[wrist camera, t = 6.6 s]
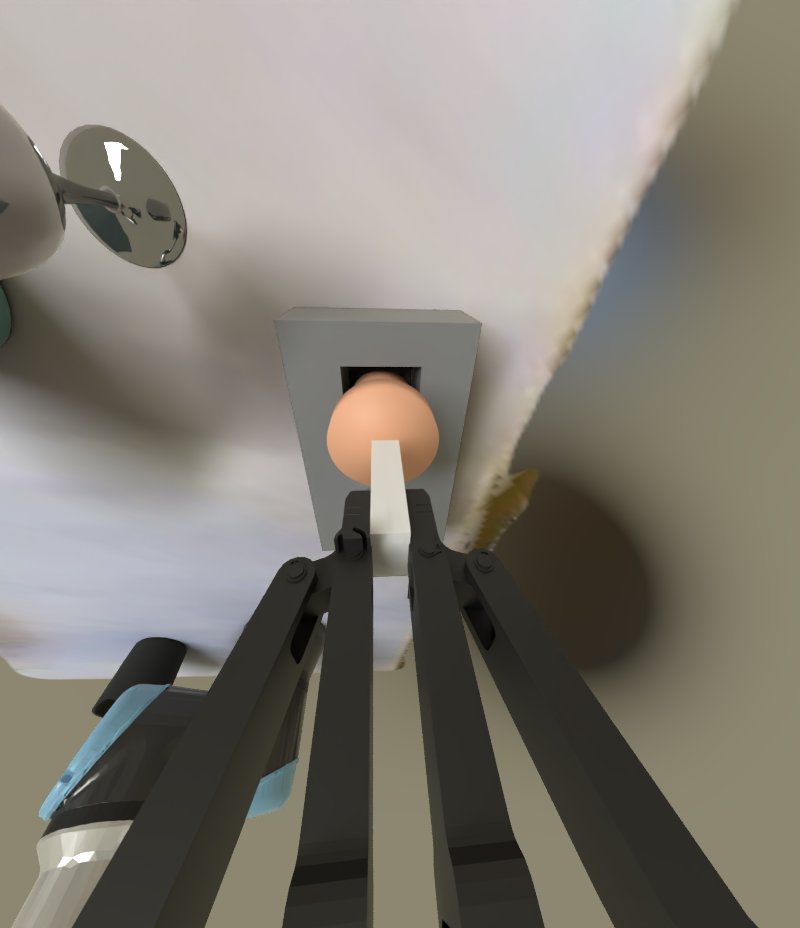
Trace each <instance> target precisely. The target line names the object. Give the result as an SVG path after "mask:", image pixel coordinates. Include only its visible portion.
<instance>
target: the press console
mask: <svg viewBox="0 0 800 928" xmlns="http://www.w3.org/2000/svg"><path fill="white" fill-rule="evenodd" d="M274 322H275V327H276V332H277V337H278V341H279V346H280V351H281V356H282V360H283V365H284V370H285V375H286V379H287V384H288V389H289V394H290V399H291V403H292V408H293V413H294V418H295V422H296V427H297V432H298V437H299V441H300V446H301V451H302V456H303V461H304V465H305V470H306V475H307V480H308V484H309V489H310V494H311V499H312V503H313V508H314V513H315V518H316V523H317V527H318V532H319V537H320V542H321V546H322V551H331V550H335V545H334V537H335V535H336V533H337V532H338V531H339V530H340V529H342V522H343V516H344V506H345V499H346V497H347V496H348V494H349V493H350V492H351V491H363V490H368V489H371V486H369V485H365V484H362V483H359V482H357V481H354V480H352V479H351V478H349V477H348V476H346V475H345V474H344V473H342V472H341V471H340V470H339V469H338V468H337V466H336V465H335V464H334V462H333V460H332V459H331V456H330V454H329V451H328V447H327V432H328V428H329V424H330V420H331V417H332V413H333V410H334V408H335V405H336V404H337V402H338V400H339V399H340V398H341V397H342V395H343V394H344V393H346V392H347V391H348V390H349V389H350V383H349V370H348V366H352V367H412V374H411V387H413V388H414V389H416V390H417V391H418V392H419V393H420V394H421V395H422V396H423V397H424V398H425V399H426V401H427V402H428V404H429V406H430V408H431V411H432V413H433V416H434V419H435V421H436V424H437V428H438V432H439V445H438V450H437V453H436V455H435V457H434V459H433V461H432V462H431V464H430V465H429V467H428V468H427V469H426V470H425V471H424V472H423V473H421V474H420V475H419V476H417V477H416V478H414V479H412V480H410V481H408V482H406V483H404V484H405V489H424V490H425V491H426V492H427V493H428V495H429V496H430V500H431V506H432V509H433V513H434V518H435V522H436V526H437V531H438V535H439V538H440V540H441V542H442V543H443V540H444V534H445V529H446V523H447V517H448V512H449V506H450V500H451V495H452V489H453V484H454V478H455V472H456V467H457V461H458V455H459V450H460V444H461V439H462V433H463V427H464V422H465V416H466V410H467V405H468V399H469V394H470V388H471V382H472V377H473V371H474V365H475V360H476V354H477V349H478V343H479V337H480V332H481V326H482V323H480V322H479V321H477V320H476V319H474V318H472V317H471V316H469V315H467V314H466V313H464V312H462V311H461V310H414V309H363V308H313V307H294V308H292V309H291V310H289V311H288V312H286V313H284V314H283V315H281V316H280V317H278V318H276V319H275V320H274Z"/></svg>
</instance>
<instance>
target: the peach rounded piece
mask: <svg viewBox="0 0 800 928" xmlns="http://www.w3.org/2000/svg"><path fill="white" fill-rule="evenodd" d="M372 440H399V446H400V454H401V461H402V469H403V476H404V483H406V482H408V481H410V480H412V479H414V478H416V477H417V476H419V475H420V474H421V473H423V472H424V471H425V470H426V469H427V468H428V467H429V465H430V464H431V462H432V461H433V459H434V457H435V455H436V453H437V450H438V445H439V432H438V428H437V424H436V421H435V419H434V416H433V413H432V411H431V408H430V406H429V404H428V402H427V401H426V399H425V398H424V397H423V396H422V395H421V394H420V393H419V392H418V391H417V390H416V389H414V388H413V387H411V386H410V385H408V384H407V382H406V381H405V380H404V378H402V377H401V376H400V375H399V374H397V373H395V372H393V371H390V370H386V369H377V370H372V371H369V372H367V373H365V374H364V375H362V376H361V377H360V378H359V379H358V380H357V381H356V383H355V384H354V386H353V387H352V388H351V389H349V390H348V391H347V392H346V393H344V394H343V395H342V397H341V398H340V399H339V400H338V402H337V404H336V405H335V408H334V410H333V413H332V417H331V420H330V424H329V428H328V432H327V447H328V451H329V454H330V456H331V459H332V460H333V462H334V464H335V465H336V466H337V468H338V469H339V470H340V471H341V472H342V473H344V474H345V475H346V476H348V477H349V478H351V479H352V480H354V481H357V482H359V483H362V484H365V485H369V486H371V449H372Z"/></svg>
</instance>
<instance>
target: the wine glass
mask: <svg viewBox="0 0 800 928" xmlns="http://www.w3.org/2000/svg"><path fill="white" fill-rule="evenodd" d="M59 166H60V175H61V176H59V175H56V174H54V173H52V171H51V169H50V167H49V166H48V164H47V162H46V161H45V159H44V157H43V156H42V154H41V153H40V151H39V150H38V148H37V147H36V145H35V144H34V143H33V141H32V140H31V139H30V138H29V136H28V135H27V134H26V132H25V131H24V130H23V129H22V127H21V126H20V125H19V124H18V122H17V121H16V120H15V118H14V117H13V116H12V115H11V114H10V113H9V112H8V111H7V110H6V109H5V108H4V107H3V106H2V104H1V103H0V280H3V279H7V278H11V277H15V276H19V275H21V274H23V273H26V272H28V271H31V270H33V269H35V268H37V267H39V266H41V265H42V264H44V263H46V262H47V261H48V260H49V259H51V258H52V257H53V256H54V255H55V254H56V253H57V252H58V250H59V249H60V247H61V244H62V242H63V240H64V234H65V227H66V212H65V206H64V205H65V204H71V205H72V207H73V209H74V211H75V212H76V214H77V215H78V217H79V218H80V220H81V221H82V223H83V224H84V225H85V226H86V228H87V229H88V230H89V231H90V233H91V234H92V235H93V236H94V237H95V238H96V239H97V240H98V241H99V242H100V243H101V244H103V245H104V246H105V247H106V248H107V249H109V250H110V251H111V252H113V253H114V254H116V255H117V256H119V257H121V258H123V259H124V260H126V261H128V262H130V263H133V264H136V265H139V266H144V267H162V266H166V265H168V264H170V263H172V262H173V261H174V260H175V259H176V258H177V257H178V256H179V255H180V253H181V251H182V250H183V247H184V243H185V238H186V221H185V216H184V211H183V208H182V205H181V202H180V199H179V196H178V194H177V192H176V190H175V188H174V186H173V184H172V183H171V181H170V179H169V178H168V176H167V174H166V173H165V171H164V170H163V169H162V168H161V166H160V165H159V164H158V162H157V161H156V160H155V159H154V158H153V157H152V156H151V155H150V154H149V153H148V152H147V151H146V150H145V149H144V148H143V147H142V146H140V145H139V144H138V143H137V142H136V141H134V140H133V139H131V138H130V137H128V136H126V135H125V134H123V133H121V132H119V131H117V130H115V129H112V128H110V127H106V126H102V125H84V126H81V127H78V128H76V129H74V130H73V131H71V132H70V133H69V134H68V136H67V137H66V138H65V139H64V141H63V144H62V147H61V149H60V157H59Z"/></svg>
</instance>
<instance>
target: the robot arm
mask: <svg viewBox="0 0 800 928" xmlns="http://www.w3.org/2000/svg"><path fill="white" fill-rule="evenodd" d="M334 545H335V551H334V552H333V553H332V554H330V555H329V556H327V557H325V558H322V559H319V560H316V561H313V562H312V561H311V560H310V559H308V558H305V557H297V558H294V559H290V560H289V561H287V562H286V563H284V564H283V565H282V567H281V568H280V569H279V570H278V572H277V574H276V576H275V577H274V579H273V581H272V582H271V584H270V586H269V588H268V589H267V591H266V593H265V595H264V596H263V598H262V600H261V601H260V603H259V605H258V607H257V608H256V610H255V612H254V614H253V615H252V617H251V619H250V620H249V622H248V623H247V624H246V625H245V627H244V630H243V633H242V634H241V636H240V638H239V639H238V641H237V643H236V645H235V646H234V648H233V650H232V652H231V653H230V655H229V657H228V658H227V660H226V662H225V664H224V665H223V667H222V669H221V671H220V672H219V674H218V676H217V678H216V679H215V681H214V683H213V685H212V686H211V688H210V690H209V691H205V690H198V689H191V688H184V687H177V686H171V684H166V685H152V684H138V685H135V686H133V687H131V688H129V689H128V690H126V691H125V692H124V693H123V694H122V695H121V696H120V697H119V698H118V699H117V700H116V702H115V703H114V704H113V705H112V707H111V708H110V709H109V710H108V712H107V713H106V714H105V716H104V717H103V718H102V720H101V721H100V722H99V724H98V725H97V727H96V728H95V729H94V731H93V732H92V733H91V735H90V736H89V738H88V739H87V740H86V742H85V743H84V745H83V746H82V747H81V749H80V750H79V752H78V753H77V755H76V756H75V758H74V759H73V760H72V762H71V763H70V765H69V766H68V769H67V770H66V771H65V772H64V774H63V775H62V777H61V778H60V780H59V781H58V783H57V784H56V785H55V786H54V788H53V790H52V791H51V792H50V794H49V796H48V797H47V799H46V800H45V802H44V804H43V805H42V807H41V809H40V811H39V817H41V818H43V820H44V821H48V820H50V819H51V818H52V820H51V822H50V823H49V825H48V827H47V829H46V830H45V832H44V834H43V836H42V837H41V839H40V841H39V842H38V844H37V847H36V848H37V853H38V858H39V863H40V875H39V878H38V879H37V881H36V883H35V885H34V887H33V889H32V890H31V892H30V894H29V896H28V898H27V900H26V901H25V903H24V905H23V907H22V909H21V911H20V913H19V915H18V916H17V918H16V920H15V922H14V924H13V926H12V927H11V928H204V927H205V925H206V922H207V919H208V917H209V913H210V911H211V909H212V906H213V904H214V901H215V898H216V896H217V893H218V890H219V888H220V885H221V882H222V880H223V877H224V875H225V872H226V869H227V867H228V864H229V862H230V859H231V856H232V853H233V851H234V848H235V846H236V843H237V840H238V838H239V835H240V833H241V830H242V827H243V825H244V822H245V820H247V819H250V818H254V817H258V816H261V815H265V814H268V813H271V812H274V811H277V810H279V809H280V808H281V807H283V806H284V805H285V803H286V802H287V800H288V798H289V796H290V794H291V790H292V785H293V780H294V774H295V770H296V765H297V763H298V753H299V747H300V740H301V733H302V726H303V719H304V712H305V704H306V698H307V692H308V685H309V680H310V677H311V675H312V673H313V670H314V668H315V666H316V663H317V661H318V659H319V656H320V654H321V652H322V649H323V647H324V652H323V660H322V668H321V676H320V684H319V692H318V700H317V708H316V716H315V724H314V732H313V739H312V748H311V755H310V763H309V771H308V778H307V786H306V794H305V802H304V810H303V818H302V826H301V834H300V841H299V849H298V856H297V861H296V866H295V870H294V873H293V877H292V880H291V884H290V887H289V892H288V897H287V902H286V907H285V913H284V919H283V926H282V928H373V577H385V576H405V575H408V577H409V586H408V598H409V600H410V611H411V621H412V631H413V641H414V651H415V661H416V672H417V682H418V692H419V702H420V711H421V723H422V733H423V743H424V753H425V762H426V774H427V784H428V793H429V804H430V814H431V824H432V834H433V846H434V875H435V888H436V899H437V909H438V920H439V928H545V927H544V923H543V919H542V915H541V911H540V908H539V904H538V900H537V896H536V892H535V889H534V885H533V881H532V878H531V875H530V872H529V869H528V866H527V863H526V861H525V858H524V856H523V854H522V852H521V850H520V848H519V846H518V844H517V842H516V839H515V837H514V833H513V831H512V827H511V823H510V820H509V815H508V812H507V807H506V803H505V799H504V794H503V790H502V786H501V782H500V777H499V773H498V769H497V765H496V761H495V756H494V752H493V748H492V744H491V739H490V735H489V731H488V727H487V723H486V719H485V714H484V710H483V706H482V702H481V698H480V693H479V689H478V685H477V681H476V676H475V672H474V668H473V664H472V660H471V655H470V651H469V647H468V643H467V639H466V635H465V630H464V626H463V622H462V617H461V614H460V611H461V613H462V615H463V618H464V620H465V622H466V624H467V626H468V628H469V630H470V632H471V634H472V636H473V638H474V640H475V642H476V644H477V646H478V649H479V650H480V653H481V655H482V657H483V659H484V661H485V663H486V665H487V667H488V669H489V671H490V673H491V675H492V677H493V679H494V681H495V684H496V686H497V688H498V690H499V692H500V694H501V696H502V698H503V700H504V702H505V704H506V706H507V708H508V710H509V713H510V714H511V717H512V719H513V721H514V723H515V725H516V727H517V729H518V731H519V733H520V735H521V737H522V739H523V741H524V743H525V746H526V747H527V750H528V752H529V754H530V756H531V758H532V760H533V762H534V764H535V766H536V768H537V770H538V772H539V774H540V776H541V779H542V781H543V783H544V785H545V787H546V789H547V791H548V793H549V795H550V797H551V799H552V801H553V803H554V805H555V807H556V810H557V811H558V813H559V816H560V818H561V820H562V822H563V824H564V826H565V828H566V830H567V832H568V834H569V836H570V838H571V840H572V843H573V845H574V847H575V849H576V851H577V853H578V855H579V857H580V859H581V861H582V863H583V865H584V867H585V869H586V871H587V873H588V875H589V878H590V880H591V882H592V883H593V886H594V888H595V890H596V892H597V894H598V896H599V898H600V900H601V901H602V904H603V905H604V907H605V909H606V911H607V913H608V915H609V917H610V919H611V921H612V923H613V925H614V927H615V928H758V927H757V926H756V925H755V924H754V922H753V921H751V919H750V918H749V917H748V916H747V914H746V913H745V912H744V910H743V909H742V907H741V906H740V904H739V903H738V901H737V900H736V899H735V897H734V896H733V895H732V893H731V892H730V890H729V889H728V887H727V886H726V884H725V883H724V881H723V880H722V879H721V877H720V876H719V874H718V873H717V871H716V870H715V868H714V867H713V866H712V864H711V863H710V861H709V860H708V858H707V857H706V856H705V854H704V853H703V851H702V850H701V848H700V847H699V845H698V844H697V843H696V841H695V840H694V838H693V837H692V835H691V834H690V833H689V831H688V830H687V828H686V827H685V825H684V824H683V822H682V821H681V820H680V818H679V817H678V815H677V814H676V813H675V811H674V809H673V808H672V807H671V805H670V804H669V802H668V801H667V800H666V798H665V796H664V795H663V794H662V792H661V791H660V789H659V788H658V786H657V785H656V784H655V782H654V781H653V779H652V778H651V776H650V775H649V773H648V772H647V771H646V769H645V768H644V766H643V765H642V763H641V762H640V761H639V759H638V758H637V756H636V755H635V753H634V752H633V750H632V749H631V748H630V746H629V745H628V743H627V742H626V740H625V739H624V738H623V736H622V735H621V733H620V732H619V730H618V729H617V727H616V726H615V725H614V723H613V722H612V720H611V719H610V717H609V716H608V714H607V713H606V712H605V710H604V709H603V707H602V706H601V704H600V703H599V702H598V700H597V699H596V697H595V696H594V694H593V693H592V692H591V690H590V689H589V687H588V686H587V684H586V683H585V681H584V680H583V679H582V677H581V676H580V674H579V673H578V671H577V670H576V669H575V667H574V666H573V664H572V663H571V661H570V660H569V658H568V657H567V656H566V654H565V653H564V651H563V650H562V648H561V647H560V645H559V644H558V643H557V641H556V640H555V638H554V637H553V635H552V634H551V633H550V631H549V630H548V628H547V627H546V625H545V624H544V622H543V621H542V620H541V618H540V617H539V615H538V614H537V612H536V611H535V609H534V608H533V607H532V605H531V604H530V602H529V601H528V600H527V598H526V597H525V595H524V594H523V592H522V591H521V589H520V588H519V587H518V585H517V584H516V582H515V581H514V579H513V578H512V576H511V575H510V574H509V572H508V571H507V569H506V568H505V566H504V565H503V563H502V562H501V561H500V559H499V558H498V557H497V556H496V555H495V554H494V553H492V552H490V551H489V550H485V549H474V550H472V551H470V552H469V554H464V553H460V552H456V551H453V550H451V549H449V548H447V547H446V546H445V545H444V544H443V543H442V542H441V540H440V538H439V535H438V531H437V526H436V522H435V518H434V513H433V509H432V506H431V500H430V496H429V495H428V493H427V492H426V491H425V490H424V489H405V484H404V476H403V469H402V461H401V454H400V446H399V440H372V449H371V491H351V492H350V493H349V494H348V496H347V497H346V499H345V506H344V516H343V522H342V529H340V530H339V531H338V532H337V533H336V535H335V537H334ZM326 612H329V613H328V621H327V629H326V631H325V628H324V627H323V626H322V625H321V624H320V622H321V620H322V617H323V614H324V613H326ZM325 634H326V637H325ZM324 641H325V645H324Z"/></svg>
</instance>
